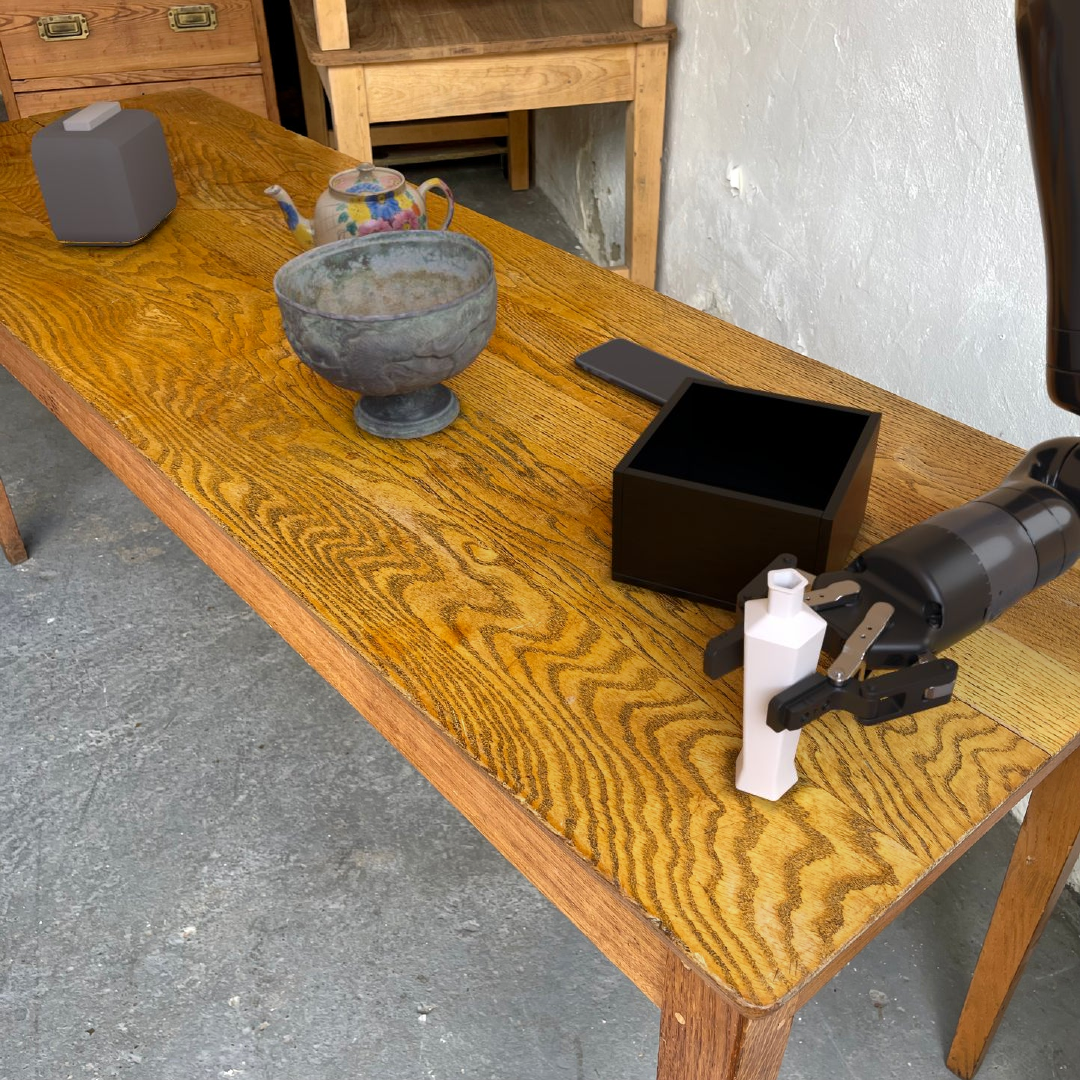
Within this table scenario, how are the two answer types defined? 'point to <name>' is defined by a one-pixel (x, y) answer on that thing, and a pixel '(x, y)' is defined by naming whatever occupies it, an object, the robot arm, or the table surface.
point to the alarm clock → (104, 174)
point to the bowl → (391, 322)
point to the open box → (739, 490)
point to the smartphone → (638, 369)
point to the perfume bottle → (775, 680)
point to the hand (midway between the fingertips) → (740, 690)
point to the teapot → (361, 206)
